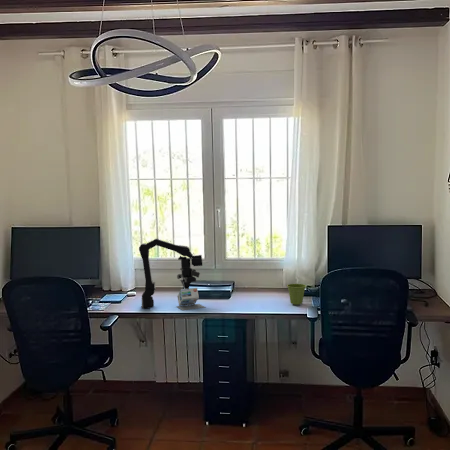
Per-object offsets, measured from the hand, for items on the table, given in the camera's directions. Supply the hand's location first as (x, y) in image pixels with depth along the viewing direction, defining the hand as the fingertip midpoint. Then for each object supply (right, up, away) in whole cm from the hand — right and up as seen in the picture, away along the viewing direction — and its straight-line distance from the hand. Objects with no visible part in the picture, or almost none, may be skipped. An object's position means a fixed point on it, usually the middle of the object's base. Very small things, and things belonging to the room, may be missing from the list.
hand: (186, 291), depth 322 cm
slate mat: (+3, -9, -5) cm, 11 cm away
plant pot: (+68, -7, -2) cm, 68 cm away
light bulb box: (-1, -6, +3) cm, 6 cm away
